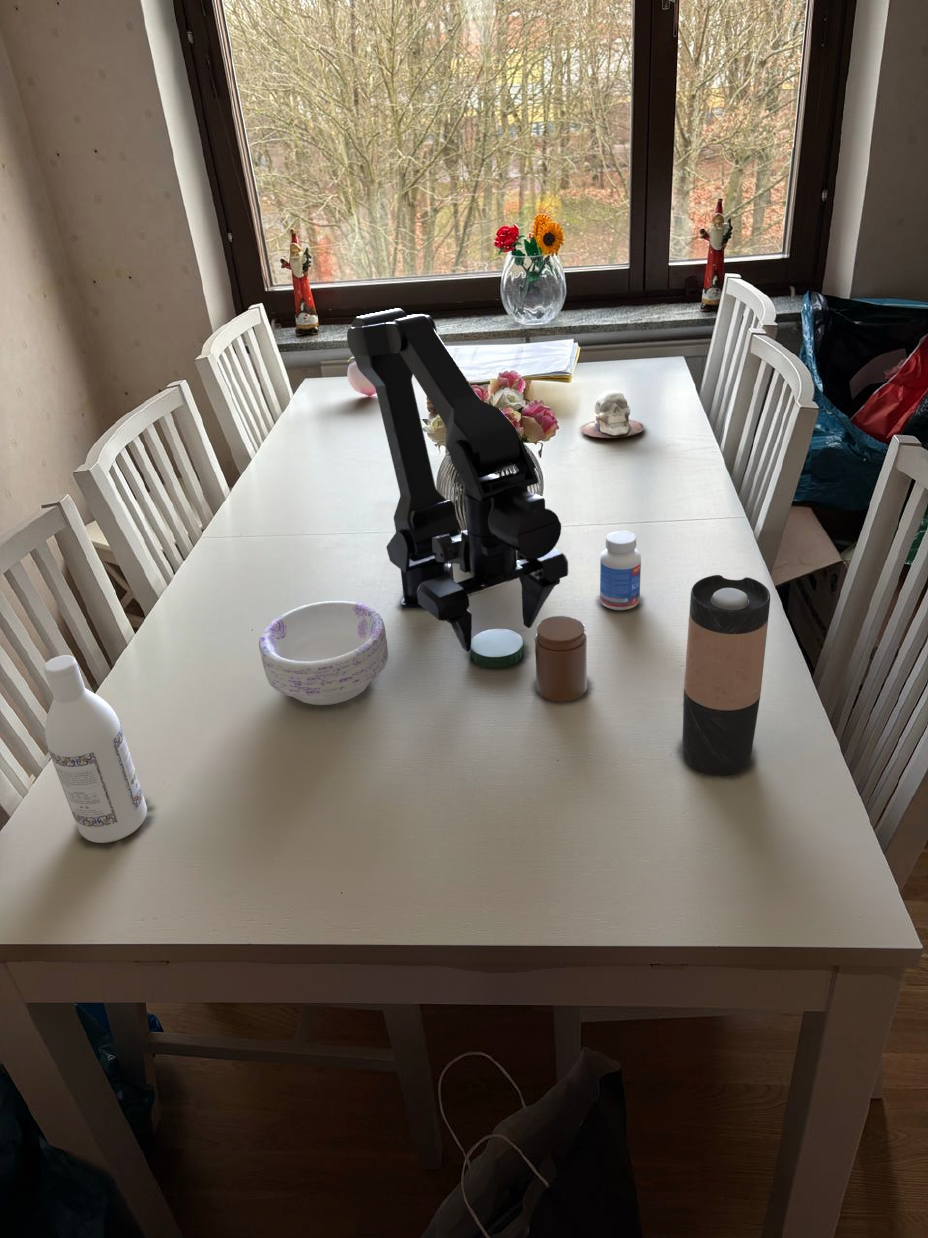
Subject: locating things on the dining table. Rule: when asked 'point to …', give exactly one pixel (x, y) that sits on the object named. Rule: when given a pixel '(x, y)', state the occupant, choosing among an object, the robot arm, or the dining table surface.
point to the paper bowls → (324, 651)
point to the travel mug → (723, 672)
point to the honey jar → (561, 658)
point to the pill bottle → (620, 571)
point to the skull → (612, 417)
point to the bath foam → (91, 757)
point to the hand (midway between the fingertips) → (497, 638)
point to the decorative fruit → (359, 380)
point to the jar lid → (497, 648)
